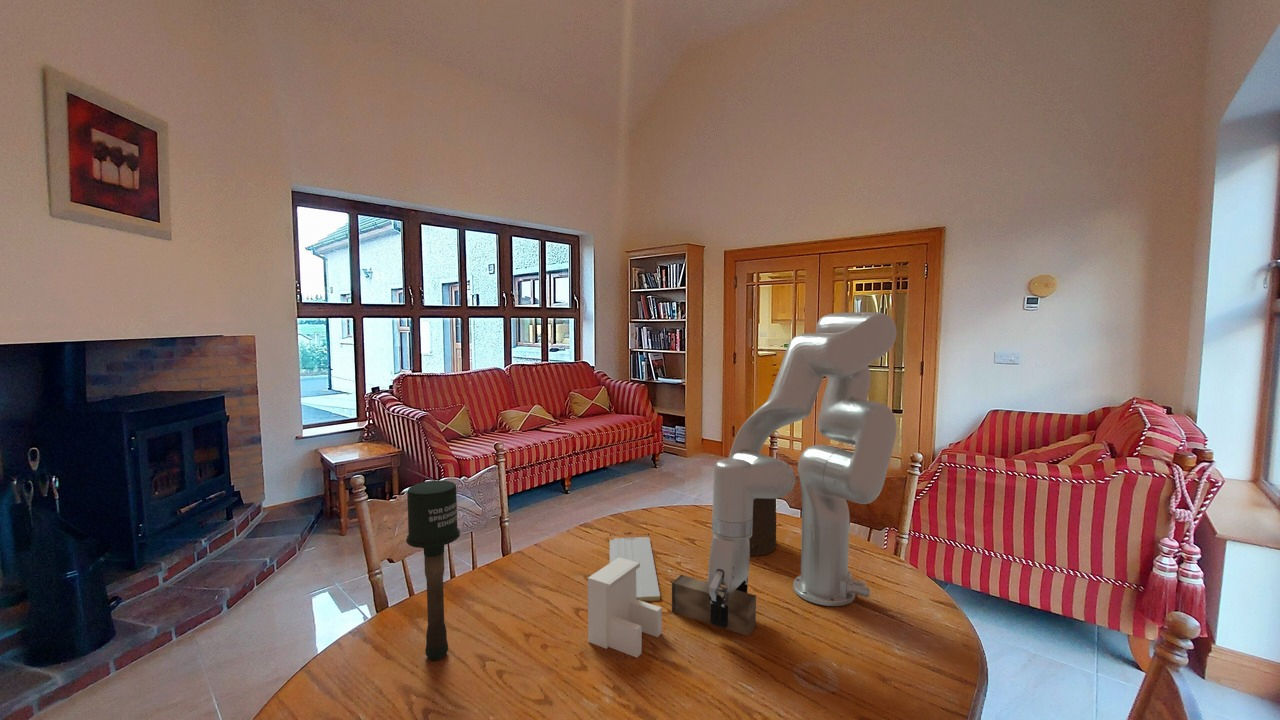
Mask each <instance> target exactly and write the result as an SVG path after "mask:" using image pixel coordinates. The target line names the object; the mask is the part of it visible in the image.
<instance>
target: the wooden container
mask: <svg viewBox="0 0 1280 720" xmlns="http://www.w3.org/2000/svg"><path fill="white" fill-rule="evenodd" d="M749 541H750V557H759V556H764V555H769V554H771V553H773V552H774V551H775V550H776V549H777V548H776V547H777V499H763V498H756V499H754V500H753V524H752V537H751V538H749Z"/></svg>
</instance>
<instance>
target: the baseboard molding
mask: <svg viewBox="0 0 1280 720" xmlns="http://www.w3.org/2000/svg"><path fill="white" fill-rule="evenodd" d="M623 535H632V532H629V531H628V532H624V534H623ZM639 535H640V536H641V535H642V536H643V535H648V536H643V537H640V536H639ZM649 535H650V533H649V532H648V534H646V533H645V534H643V533H641V534H637V537H615V538H613V539H609V537H606V538H604V539H605V540H606V541H608V542H609V563H611V562H612V561H614V560H615V559H617V558H618V557H620V558H624V559H627V560H631V561H635V562H638V563H640V567H639V568H638V569H636V600H640V601H643V602H650V601H651V602H653V601H656V602H657V601H660V600H661V593H660V588H659V582H658V576H657V571H656V566H655V560H654V555H653V551H652V550H653V549H652V544H651V539H650V538H651V537H649ZM609 536H610V537H612V534H609ZM638 536H639V537H638Z"/></svg>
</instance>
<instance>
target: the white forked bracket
mask: <svg viewBox="0 0 1280 720" xmlns="http://www.w3.org/2000/svg"><path fill="white" fill-rule="evenodd" d="M639 567H640V563H638V562H635V561H631V560H627V559H624V558H620V557H618V558H617V559H615V560H614V561H612V562H611V563H610V562H609V563H608V564H606V565H605V566H603V567H602V568H601V569H599V570H597V571H596V572H594V573H593V574H591V575H590V576H589V577H587V621H588V622H587V623H588V624H587V630H588V631H587V637H588V638H587V640H588V641H587V642H588V643H591V644H593V645H595V646H598V647H601V648H603V649H606V650H607V649H608V648H610V649H613V650H616V651H619V652H621V653H623V654H626V655H629V656H632V657H635V658H639V656H641V654H642V651H643V650H642V647H643V644H642V637H643V636H642V633H644V634H646V635H649V636H653V637H655V638H659V637H660V636H661V634H662V631H663V629H662V626H663V625H662V624H663V623H662V620H663V618H662V616H663V614H662V609H663V608H662V607H661V606H658V605H655V604H652V603H648V602H647V601H640V600H636V569H638V568H639Z"/></svg>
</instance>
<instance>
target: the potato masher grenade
mask: <svg viewBox="0 0 1280 720" xmlns="http://www.w3.org/2000/svg"><path fill="white" fill-rule="evenodd" d="M406 494H407V498H406V499H407V523H408V524H407V526H408V529H407V530H408V534H407V536H406V539H405V542H406V544H407V545H408V546H410V547H413V548H419V549H423V556H424V559H423V561H424V576H425V580H426V601H427V602H426V604H427V607H426V610H427V629H426V633H425V634H426V636H425V637H426V638H425V639H426V643H425V644H426V645H425V650H424V651H425V652H424V653H425V656H426V657H427V659H428V660H430V661H439V660H441V659H443V658H444V657H445V656H446V655H447V654H448V651H449V643H448V639H447V638H448V636H447V632H448V631H447V628H446V624H445V623H446V622H445V606H444V605H445V603H444V601H445V600H444V599H445V598H444V596H445V595H444V575H445V545H449V544H452V543H453V542H455V541H457V539H458V538H460V536H461V534H460V533H461V531H460V529H459V528H458V505H457V504H458V503H457V502H458V499H457V484H456V483H454V482H453V481H450V480H430V481H429V480H428V481H423V482H418V483H416V484H413V485H411V486H410V487H408V489H407V491H406Z"/></svg>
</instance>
